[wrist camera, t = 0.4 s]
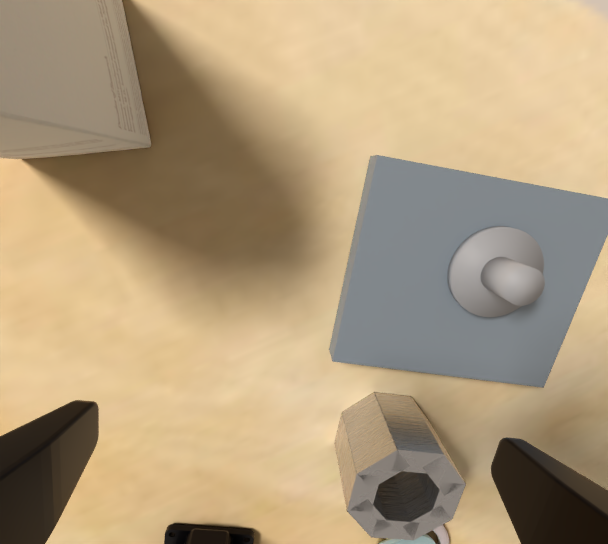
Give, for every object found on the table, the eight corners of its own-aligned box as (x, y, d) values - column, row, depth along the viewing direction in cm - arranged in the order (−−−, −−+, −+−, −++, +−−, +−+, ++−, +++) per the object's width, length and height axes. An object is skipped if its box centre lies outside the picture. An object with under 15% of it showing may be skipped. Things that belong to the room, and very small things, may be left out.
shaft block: (527, 374, 23) (579, 417, 19) (329, 348, 22) (339, 389, 18) (597, 199, 20) (677, 206, 16) (370, 156, 19) (394, 152, 15)
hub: (413, 472, 25) (443, 542, 20) (329, 464, 25) (340, 535, 20) (437, 399, 24) (475, 457, 19) (347, 389, 23) (364, 446, 18)
